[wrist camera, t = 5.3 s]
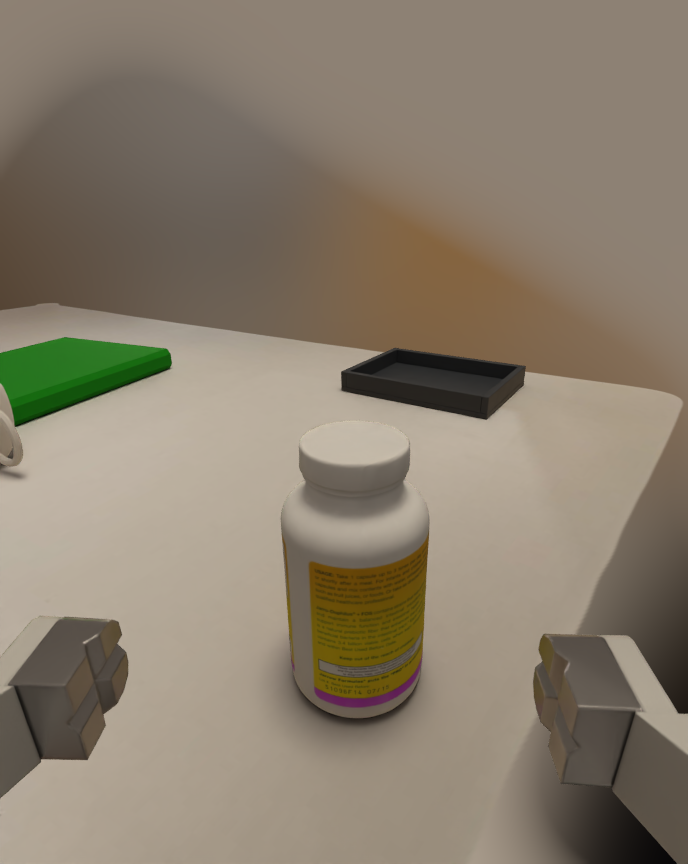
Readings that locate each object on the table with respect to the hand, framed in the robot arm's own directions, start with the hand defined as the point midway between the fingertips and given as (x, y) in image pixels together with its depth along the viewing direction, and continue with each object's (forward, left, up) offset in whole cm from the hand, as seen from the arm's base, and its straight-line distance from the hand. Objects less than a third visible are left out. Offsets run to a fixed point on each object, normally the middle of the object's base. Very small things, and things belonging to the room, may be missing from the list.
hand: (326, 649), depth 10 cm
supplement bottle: (+10, -8, -14) cm, 19 cm away
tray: (+41, -43, -14) cm, 60 cm away
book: (+74, 0, -14) cm, 75 cm away
